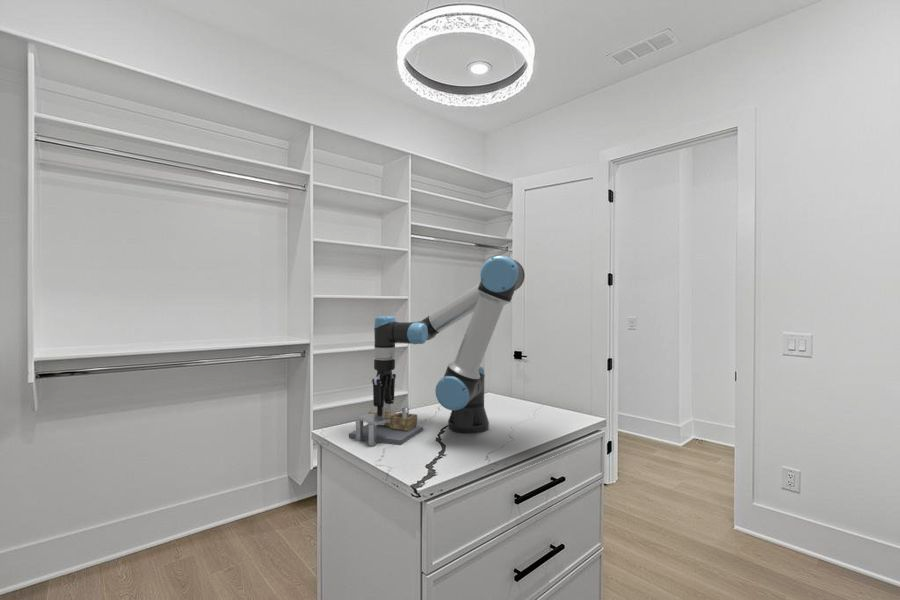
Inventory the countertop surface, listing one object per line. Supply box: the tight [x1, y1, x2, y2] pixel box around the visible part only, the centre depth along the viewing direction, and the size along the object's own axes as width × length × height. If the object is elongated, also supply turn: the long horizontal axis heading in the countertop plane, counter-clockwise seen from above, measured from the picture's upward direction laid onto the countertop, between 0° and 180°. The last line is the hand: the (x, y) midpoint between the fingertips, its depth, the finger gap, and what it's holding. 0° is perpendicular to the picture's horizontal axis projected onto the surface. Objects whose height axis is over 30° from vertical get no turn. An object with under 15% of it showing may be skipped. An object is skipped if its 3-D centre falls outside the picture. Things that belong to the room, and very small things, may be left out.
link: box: [368, 409, 418, 431], centre depth 160 cm, size 17×7×4 cm, turn 69°
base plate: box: [348, 423, 424, 446], centre depth 155 cm, size 20×17×2 cm
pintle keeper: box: [355, 407, 410, 447], centre depth 152 cm, size 13×19×8 cm
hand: (383, 422), depth 161 cm, fingers closed on link, 3 cm apart
